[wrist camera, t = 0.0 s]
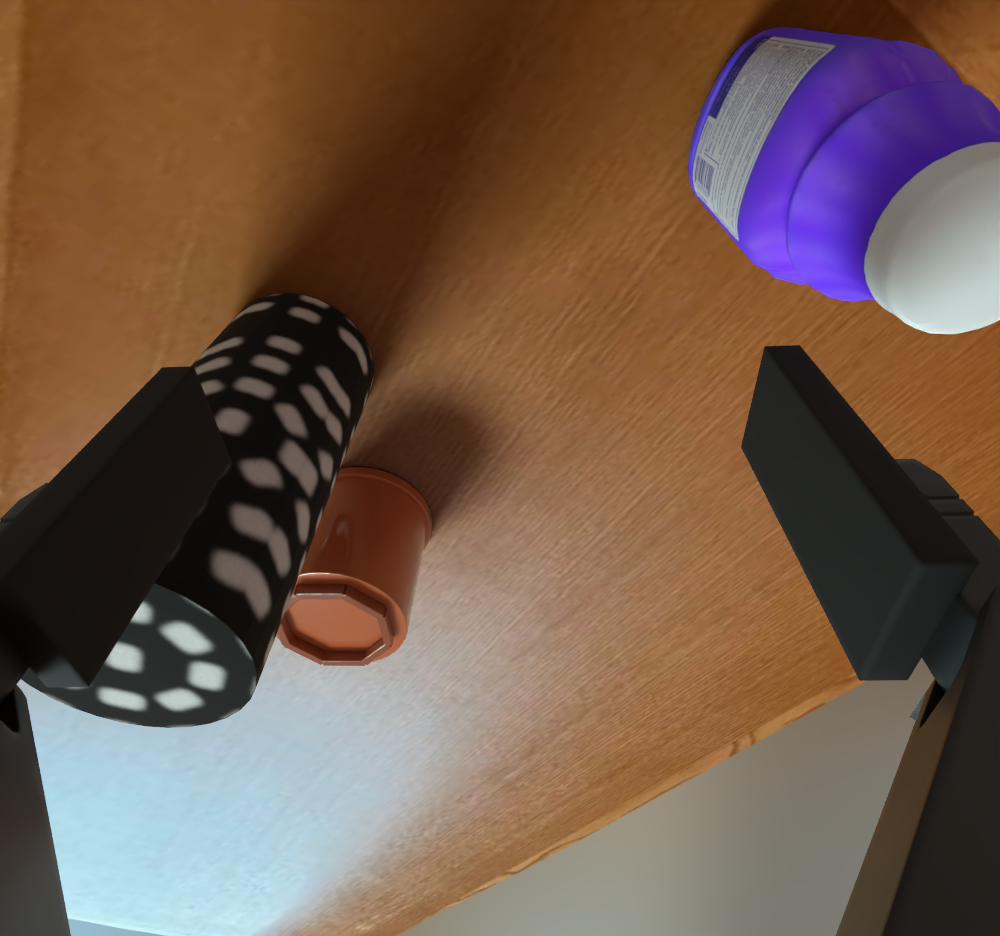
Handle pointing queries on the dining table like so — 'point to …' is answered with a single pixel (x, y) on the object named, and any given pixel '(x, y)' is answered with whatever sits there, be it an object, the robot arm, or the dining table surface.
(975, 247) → the bottle
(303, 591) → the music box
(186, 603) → the white-spotted black cylinder
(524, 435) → the dining table surface
